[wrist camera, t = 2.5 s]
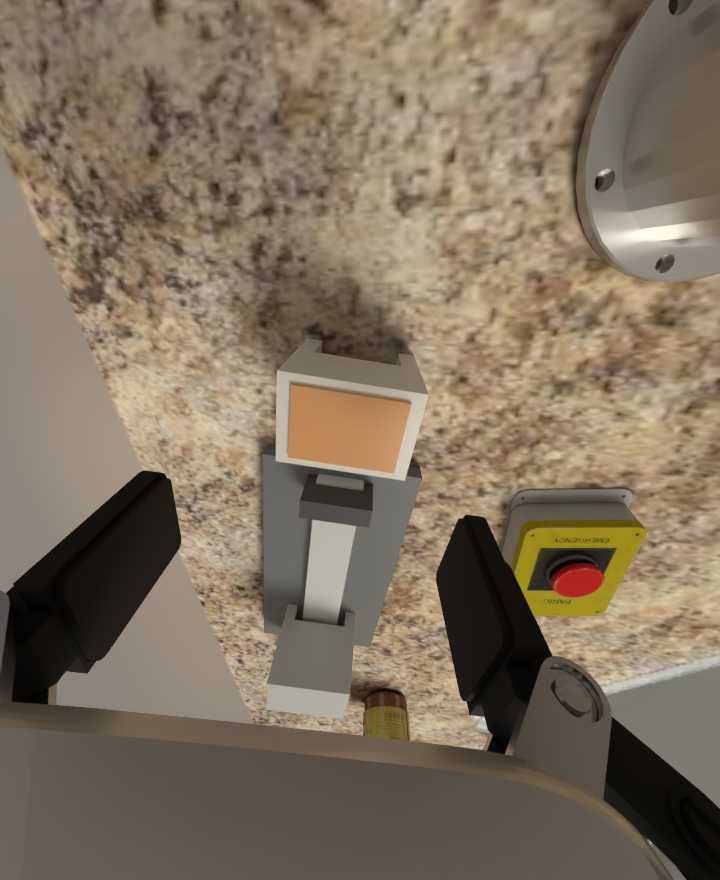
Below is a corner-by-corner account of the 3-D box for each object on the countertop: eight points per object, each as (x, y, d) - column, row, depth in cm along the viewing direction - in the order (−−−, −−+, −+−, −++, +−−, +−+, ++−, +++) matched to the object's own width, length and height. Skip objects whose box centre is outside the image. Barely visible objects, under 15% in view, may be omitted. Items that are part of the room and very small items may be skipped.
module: (307, 338, 20) (275, 371, 14) (413, 355, 20) (429, 396, 14) (303, 407, 23) (274, 463, 16) (397, 422, 23) (404, 483, 17)
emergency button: (676, 523, 21) (605, 643, 29) (631, 483, 25) (578, 599, 32) (535, 524, 22) (501, 641, 29) (512, 485, 26) (486, 598, 33)
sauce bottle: (356, 692, 44) (342, 968, 27) (396, 684, 42) (408, 974, 25) (377, 711, 47) (376, 973, 30) (415, 705, 45) (438, 978, 28)
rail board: (268, 443, 24) (220, 522, 17) (419, 466, 25) (437, 554, 17) (268, 619, 36) (240, 710, 29) (370, 633, 37) (368, 727, 29)
